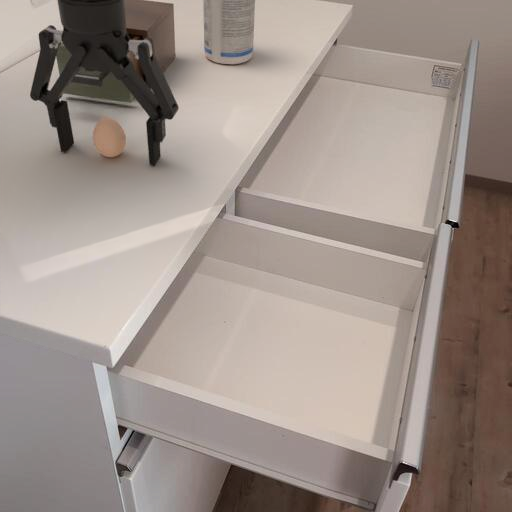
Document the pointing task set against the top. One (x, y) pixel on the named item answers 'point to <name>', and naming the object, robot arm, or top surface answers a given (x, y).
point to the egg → (109, 137)
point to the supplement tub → (228, 30)
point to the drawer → (98, 78)
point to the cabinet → (153, 27)
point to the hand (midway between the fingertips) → (111, 154)
